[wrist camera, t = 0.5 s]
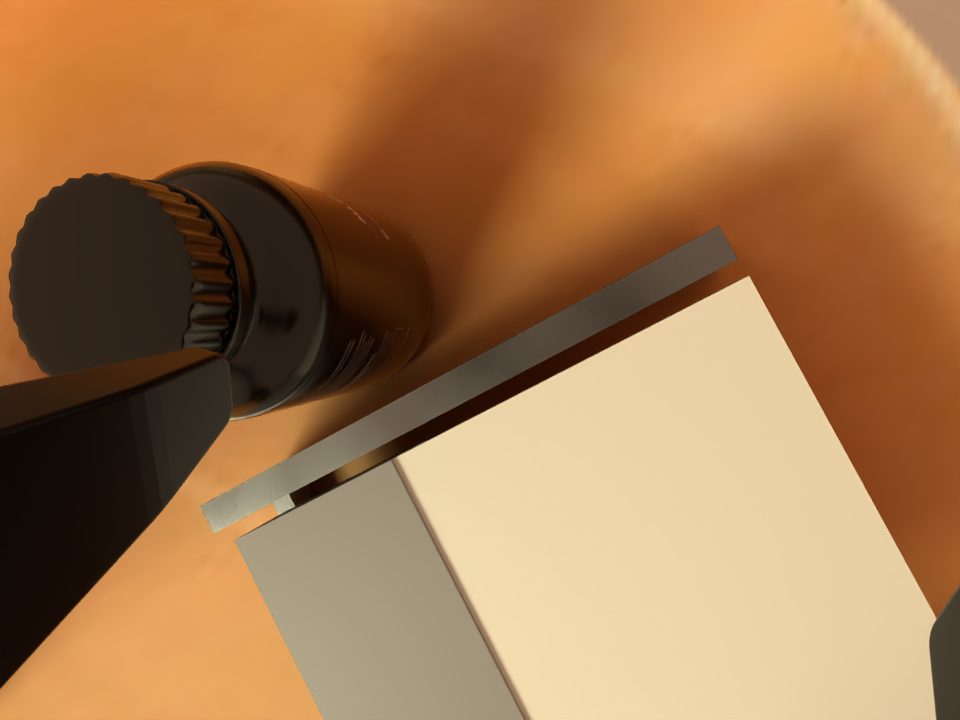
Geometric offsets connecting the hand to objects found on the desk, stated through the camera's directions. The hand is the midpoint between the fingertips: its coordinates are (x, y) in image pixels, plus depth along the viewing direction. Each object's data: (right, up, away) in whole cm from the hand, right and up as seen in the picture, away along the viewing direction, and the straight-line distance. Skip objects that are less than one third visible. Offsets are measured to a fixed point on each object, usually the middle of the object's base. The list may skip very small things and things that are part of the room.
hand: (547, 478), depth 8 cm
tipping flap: (+2, -5, +13) cm, 15 cm away
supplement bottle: (-6, +4, +17) cm, 19 cm away
